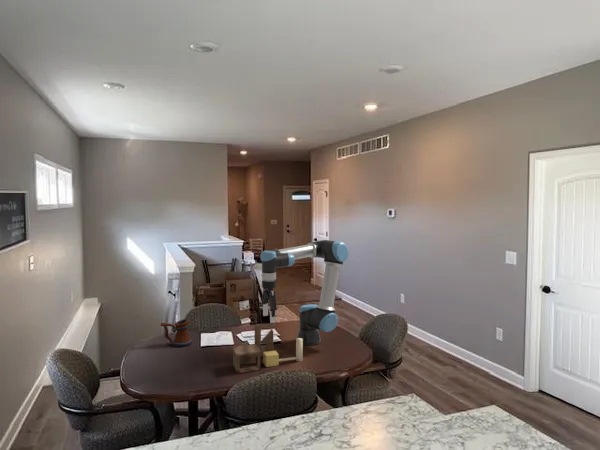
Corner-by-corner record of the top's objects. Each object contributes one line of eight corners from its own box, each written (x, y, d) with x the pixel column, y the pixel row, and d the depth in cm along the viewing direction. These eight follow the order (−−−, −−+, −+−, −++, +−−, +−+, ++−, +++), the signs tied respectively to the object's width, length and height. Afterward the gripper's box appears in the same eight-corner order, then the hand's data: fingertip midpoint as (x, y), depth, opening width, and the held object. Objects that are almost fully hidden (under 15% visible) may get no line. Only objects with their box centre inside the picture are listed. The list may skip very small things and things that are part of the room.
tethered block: (300, 357, 238) (300, 337, 238) (304, 361, 233) (304, 340, 232) (263, 362, 231) (263, 341, 230) (266, 366, 225) (266, 344, 225)
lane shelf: (255, 361, 232) (255, 343, 232) (261, 369, 221) (261, 351, 221) (231, 364, 228) (231, 346, 227) (236, 373, 217) (236, 354, 216)
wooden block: (273, 355, 242) (273, 324, 241) (255, 357, 238) (255, 326, 237) (271, 353, 245) (271, 322, 244) (253, 355, 242) (253, 324, 240)
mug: (160, 349, 250) (160, 324, 249) (160, 343, 261) (160, 319, 260) (192, 346, 255) (192, 321, 254) (191, 340, 266) (190, 316, 265)
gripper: (256, 276, 237) (256, 313, 239) (268, 285, 214) (269, 326, 215) (269, 275, 240) (269, 312, 241) (283, 284, 216) (283, 324, 218)
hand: (269, 319), depth 228 cm, fingers open, 13 cm apart
